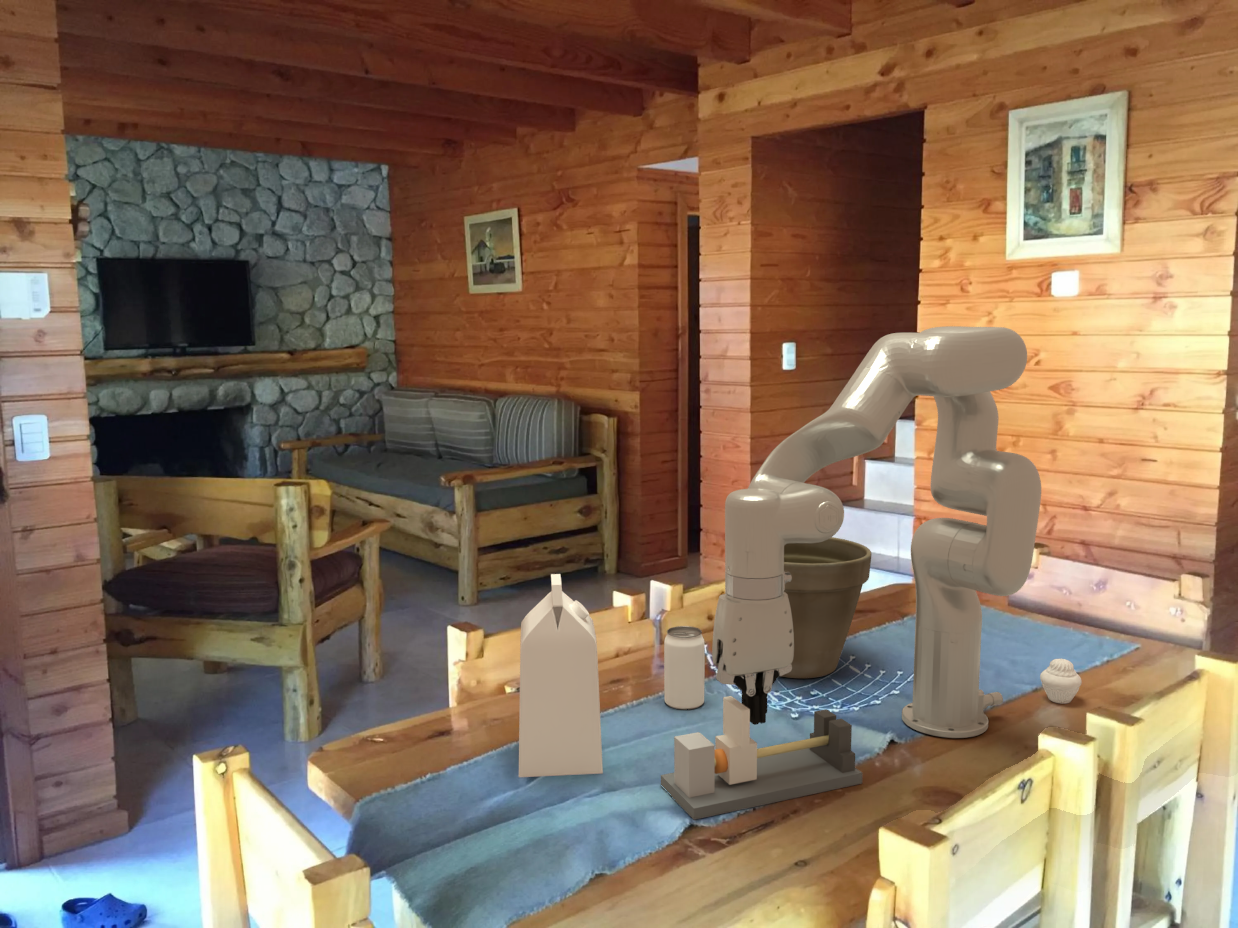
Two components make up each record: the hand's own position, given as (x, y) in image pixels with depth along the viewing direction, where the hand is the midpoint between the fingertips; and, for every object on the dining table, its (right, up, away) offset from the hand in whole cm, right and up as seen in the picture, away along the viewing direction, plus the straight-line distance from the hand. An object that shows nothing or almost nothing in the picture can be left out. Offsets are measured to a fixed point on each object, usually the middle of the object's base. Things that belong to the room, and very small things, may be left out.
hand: (754, 719), depth 133 cm
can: (-7, -5, +31) cm, 32 cm away
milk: (-26, -8, +11) cm, 30 cm away
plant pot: (+14, -2, +47) cm, 49 cm away
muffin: (+53, -5, +30) cm, 61 cm away
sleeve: (-2, -7, 0) cm, 8 cm away
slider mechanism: (+1, -9, +2) cm, 9 cm away
